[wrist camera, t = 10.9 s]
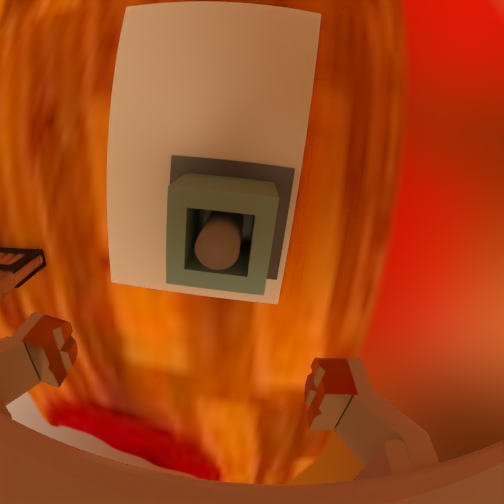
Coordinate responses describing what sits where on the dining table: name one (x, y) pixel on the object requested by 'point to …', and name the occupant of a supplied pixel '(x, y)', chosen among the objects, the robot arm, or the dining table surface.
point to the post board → (205, 128)
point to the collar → (227, 200)
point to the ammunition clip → (18, 267)
